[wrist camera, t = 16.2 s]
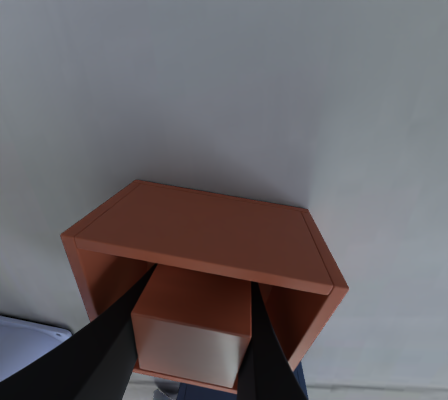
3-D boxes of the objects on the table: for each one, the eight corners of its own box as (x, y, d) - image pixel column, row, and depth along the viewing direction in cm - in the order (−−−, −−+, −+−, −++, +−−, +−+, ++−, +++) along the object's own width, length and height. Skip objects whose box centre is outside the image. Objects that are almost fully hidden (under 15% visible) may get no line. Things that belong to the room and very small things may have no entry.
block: (175, 280, 13) (139, 369, 9) (176, 229, 11) (129, 313, 7) (238, 292, 13) (232, 388, 9) (251, 243, 11) (251, 337, 7)
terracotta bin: (146, 290, 15) (105, 366, 11) (135, 179, 11) (58, 234, 6) (266, 313, 15) (273, 402, 11) (308, 209, 10) (350, 289, 6)
